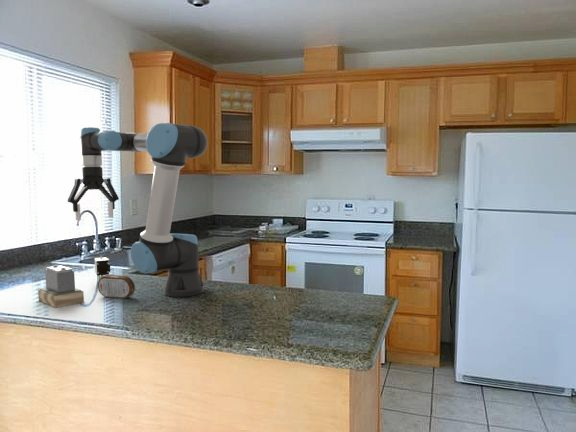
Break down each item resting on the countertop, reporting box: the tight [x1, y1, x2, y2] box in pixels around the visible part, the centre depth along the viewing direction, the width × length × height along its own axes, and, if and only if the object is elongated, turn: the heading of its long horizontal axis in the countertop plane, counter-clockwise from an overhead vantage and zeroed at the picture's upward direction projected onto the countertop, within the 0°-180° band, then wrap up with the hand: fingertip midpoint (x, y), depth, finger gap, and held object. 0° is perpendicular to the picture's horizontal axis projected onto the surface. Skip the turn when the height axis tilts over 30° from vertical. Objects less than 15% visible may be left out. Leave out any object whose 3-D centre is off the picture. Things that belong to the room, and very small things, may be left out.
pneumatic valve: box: [93, 256, 111, 282], centre depth 206 cm, size 6×12×12 cm, turn 27°
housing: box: [44, 264, 76, 293], centre depth 177 cm, size 6×12×9 cm, turn 45°
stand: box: [37, 287, 85, 309], centre depth 178 cm, size 16×10×4 cm, turn 47°
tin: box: [97, 274, 136, 299], centre depth 182 cm, size 15×3×8 cm, turn 72°
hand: (95, 218), depth 196 cm, fingers open, 13 cm apart
